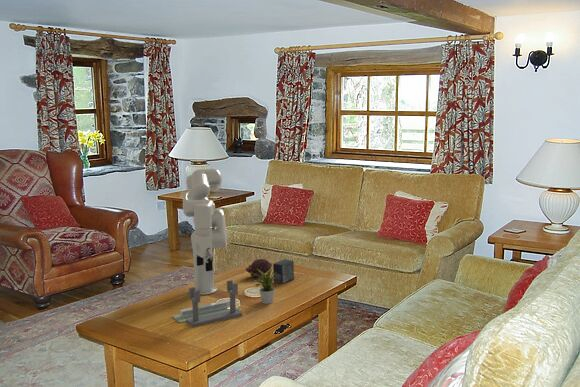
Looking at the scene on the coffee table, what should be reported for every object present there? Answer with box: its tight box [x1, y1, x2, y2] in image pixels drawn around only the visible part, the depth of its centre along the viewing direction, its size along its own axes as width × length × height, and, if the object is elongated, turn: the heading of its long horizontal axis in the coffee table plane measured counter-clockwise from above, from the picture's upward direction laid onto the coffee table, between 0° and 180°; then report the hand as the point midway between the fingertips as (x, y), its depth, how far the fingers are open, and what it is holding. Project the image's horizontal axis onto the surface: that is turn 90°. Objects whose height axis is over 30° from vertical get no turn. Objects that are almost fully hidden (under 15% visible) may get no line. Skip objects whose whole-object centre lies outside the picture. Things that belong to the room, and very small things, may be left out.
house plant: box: [251, 267, 279, 305], centre depth 288 cm, size 14×14×16 cm
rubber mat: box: [171, 306, 240, 324], centre depth 275 cm, size 9×29×1 cm, turn 122°
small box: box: [272, 258, 295, 285], centre depth 319 cm, size 11×6×10 cm, turn 144°
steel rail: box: [179, 299, 230, 318], centre depth 274 cm, size 3×24×3 cm, turn 122°
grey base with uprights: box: [186, 279, 243, 328], centre depth 266 cm, size 6×24×16 cm, turn 122°
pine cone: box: [245, 258, 273, 279], centre depth 327 cm, size 18×10×10 cm, turn 133°
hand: (204, 267), depth 271 cm, fingers open, 9 cm apart
